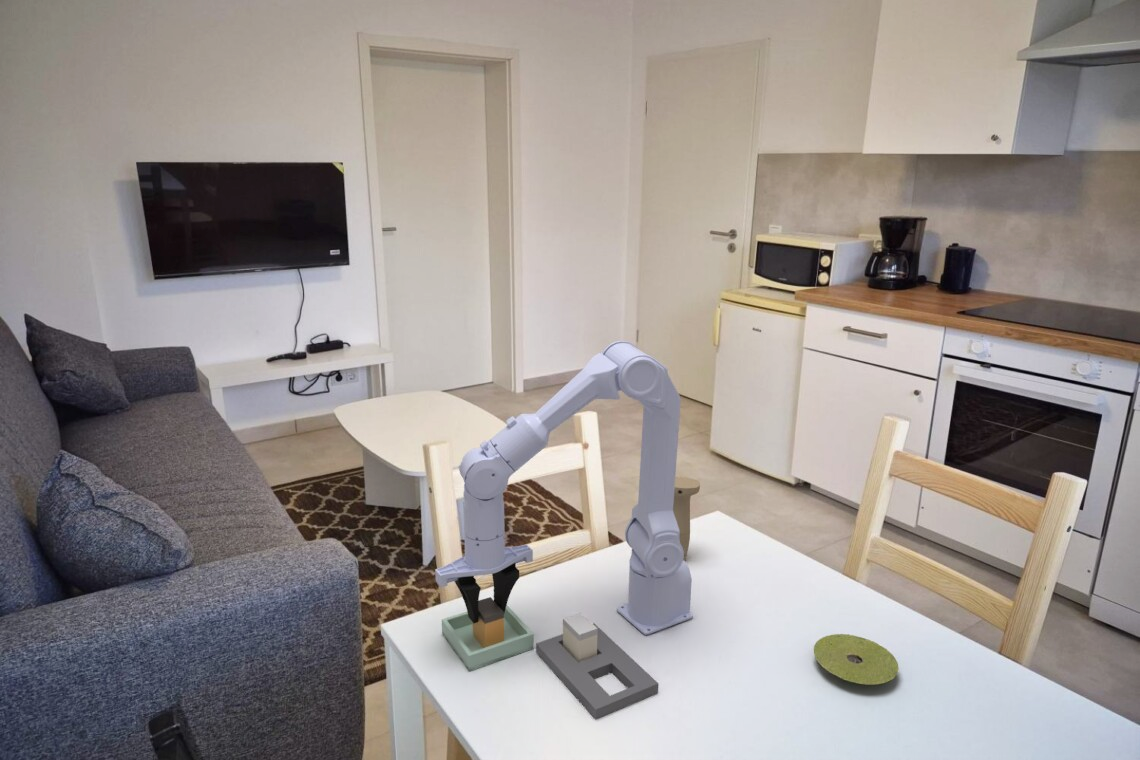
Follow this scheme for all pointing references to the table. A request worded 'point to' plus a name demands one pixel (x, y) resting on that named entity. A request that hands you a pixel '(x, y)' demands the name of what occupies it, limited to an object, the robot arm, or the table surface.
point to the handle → (684, 507)
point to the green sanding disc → (855, 659)
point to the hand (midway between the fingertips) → (486, 615)
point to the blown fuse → (489, 623)
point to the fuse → (579, 637)
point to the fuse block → (598, 674)
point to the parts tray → (476, 656)
